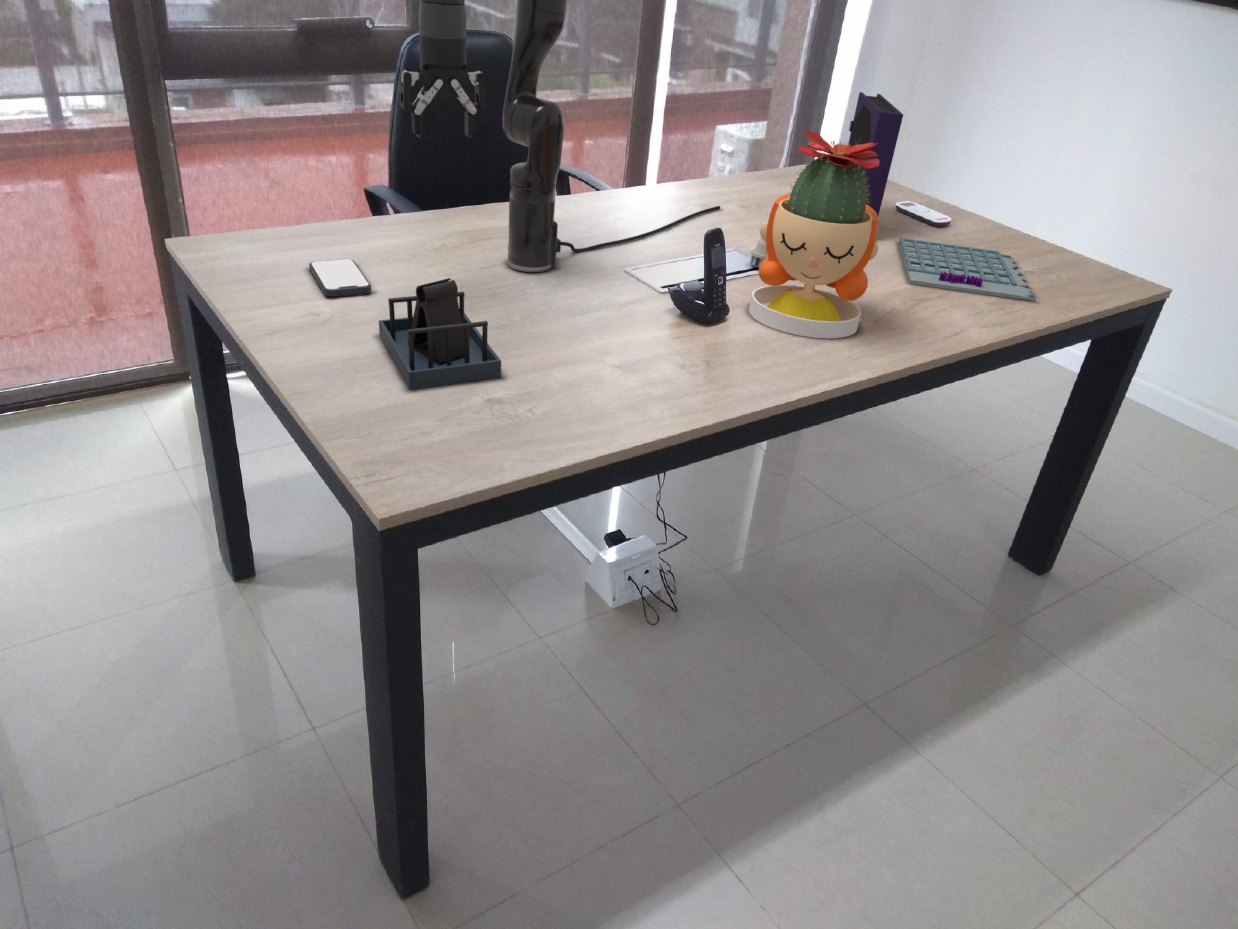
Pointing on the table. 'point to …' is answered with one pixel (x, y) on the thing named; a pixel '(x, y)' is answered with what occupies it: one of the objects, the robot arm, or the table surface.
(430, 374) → the drying rack
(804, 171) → the potted cactus
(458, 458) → the table surface
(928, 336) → the table surface
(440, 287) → the phone stand
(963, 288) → the calendar
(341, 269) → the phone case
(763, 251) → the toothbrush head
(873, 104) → the book
